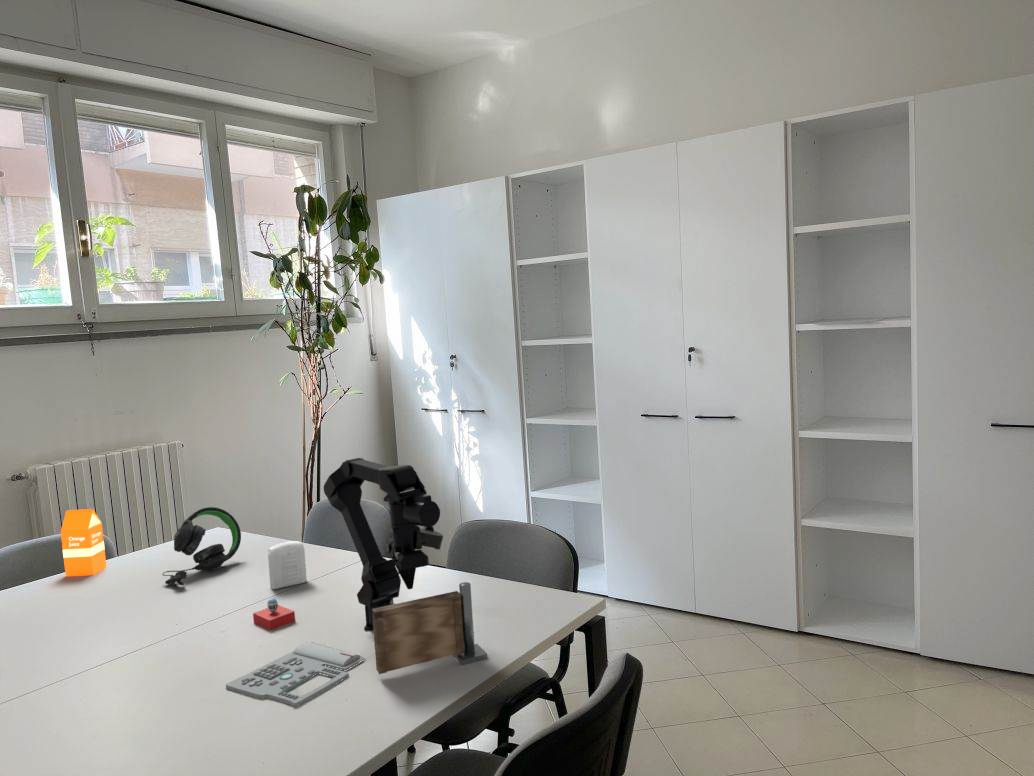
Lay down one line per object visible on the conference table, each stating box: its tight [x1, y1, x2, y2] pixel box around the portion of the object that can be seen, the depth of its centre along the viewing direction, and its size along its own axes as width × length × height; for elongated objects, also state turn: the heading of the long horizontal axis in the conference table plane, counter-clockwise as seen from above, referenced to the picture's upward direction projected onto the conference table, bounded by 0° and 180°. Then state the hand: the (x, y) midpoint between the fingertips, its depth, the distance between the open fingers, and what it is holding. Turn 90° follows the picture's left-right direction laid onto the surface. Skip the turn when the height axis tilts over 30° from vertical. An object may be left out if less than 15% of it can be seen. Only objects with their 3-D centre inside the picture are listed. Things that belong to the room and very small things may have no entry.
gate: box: [372, 590, 464, 675], centre depth 160 cm, size 18×2×13 cm, turn 115°
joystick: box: [252, 597, 296, 632], centre depth 190 cm, size 8×7×6 cm
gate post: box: [452, 581, 489, 666], centre depth 164 cm, size 6×6×16 cm
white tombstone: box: [267, 540, 308, 590], centre depth 218 cm, size 10×4×12 cm, turn 123°
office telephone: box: [225, 641, 365, 708], centre depth 161 cm, size 23×3×20 cm
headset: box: [162, 506, 242, 587], centre depth 233 cm, size 18×14×29 cm
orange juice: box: [60, 508, 107, 577], centre depth 241 cm, size 8×9×20 cm
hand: (410, 588), depth 175 cm, fingers closed
